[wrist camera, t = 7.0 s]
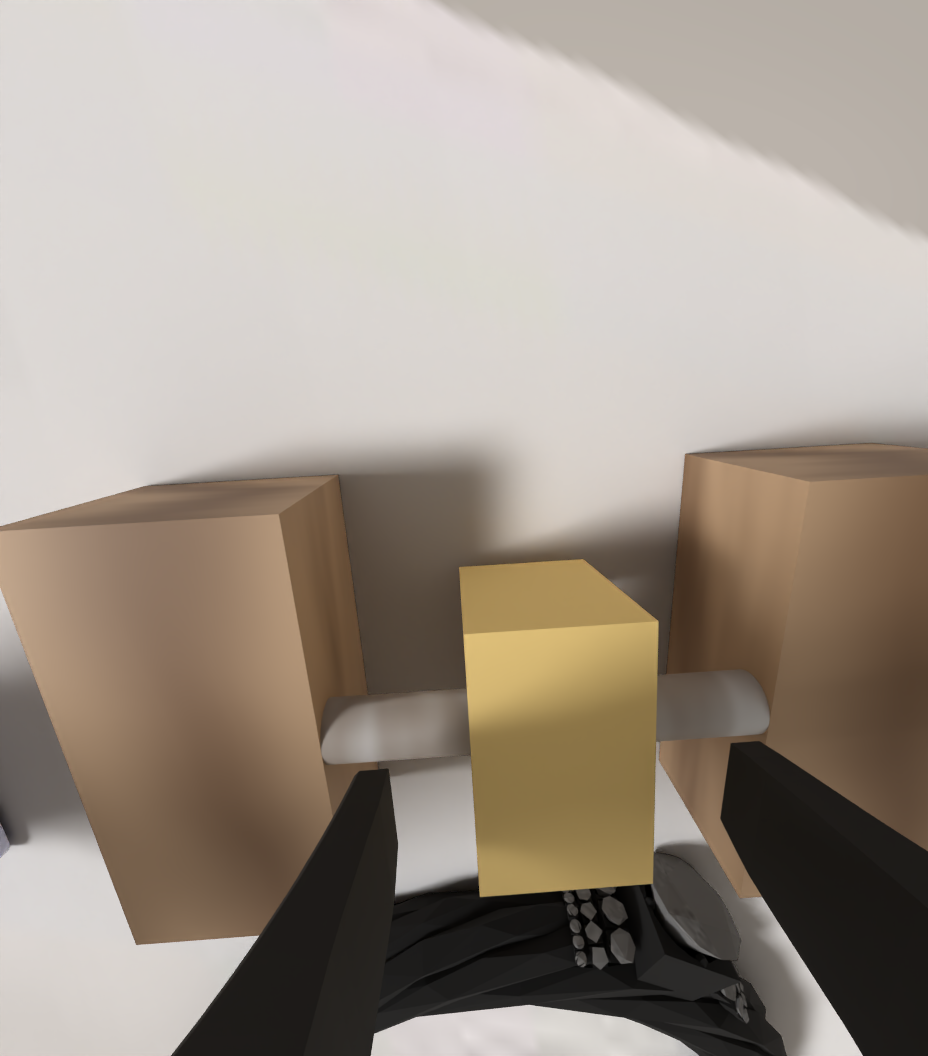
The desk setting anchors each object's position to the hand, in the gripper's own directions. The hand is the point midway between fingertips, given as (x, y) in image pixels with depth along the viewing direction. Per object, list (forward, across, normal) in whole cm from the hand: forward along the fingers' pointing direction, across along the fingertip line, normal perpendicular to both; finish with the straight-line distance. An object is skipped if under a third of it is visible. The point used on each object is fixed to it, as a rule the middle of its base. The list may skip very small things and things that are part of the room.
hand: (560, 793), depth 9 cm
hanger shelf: (+7, 0, 0) cm, 7 cm away
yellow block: (+6, 0, 0) cm, 6 cm away
